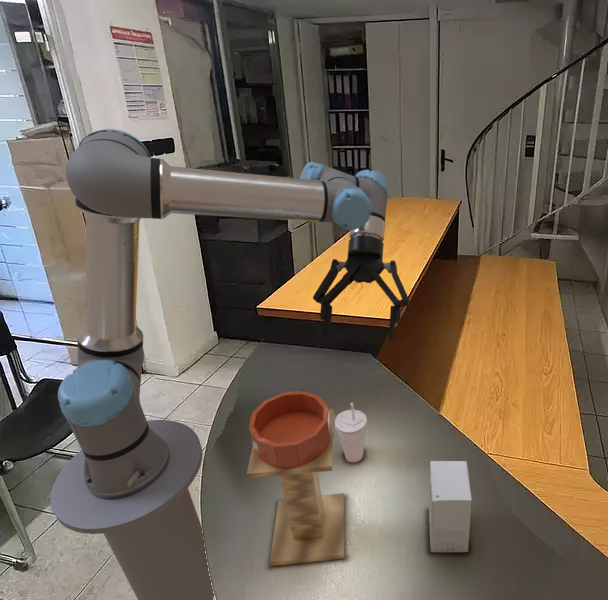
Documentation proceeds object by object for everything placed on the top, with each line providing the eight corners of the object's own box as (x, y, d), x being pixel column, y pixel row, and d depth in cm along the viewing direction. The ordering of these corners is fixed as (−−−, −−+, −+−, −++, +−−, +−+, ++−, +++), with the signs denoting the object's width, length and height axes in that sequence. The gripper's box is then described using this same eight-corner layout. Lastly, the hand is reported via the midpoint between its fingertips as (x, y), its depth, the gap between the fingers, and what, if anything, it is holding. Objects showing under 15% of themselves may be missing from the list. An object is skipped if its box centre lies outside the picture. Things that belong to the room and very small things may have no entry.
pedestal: (270, 566, 79) (246, 473, 68) (279, 503, 90) (259, 414, 79) (344, 558, 80) (331, 466, 69) (344, 497, 90) (333, 408, 80)
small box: (468, 553, 80) (472, 501, 74) (430, 553, 81) (431, 501, 74) (463, 510, 87) (467, 459, 81) (428, 510, 88) (429, 460, 81)
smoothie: (369, 467, 96) (364, 414, 90) (337, 468, 96) (330, 415, 90) (370, 443, 102) (366, 391, 95) (340, 443, 102) (334, 392, 95)
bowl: (248, 471, 69) (243, 449, 66) (261, 415, 78) (256, 394, 76) (329, 464, 69) (326, 441, 67) (331, 409, 79) (329, 388, 77)
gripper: (424, 248, 107) (420, 342, 101) (314, 245, 110) (304, 338, 104) (423, 234, 100) (417, 335, 94) (305, 232, 102) (293, 331, 97)
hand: (358, 337), depth 99 cm, fingers open, 13 cm apart
